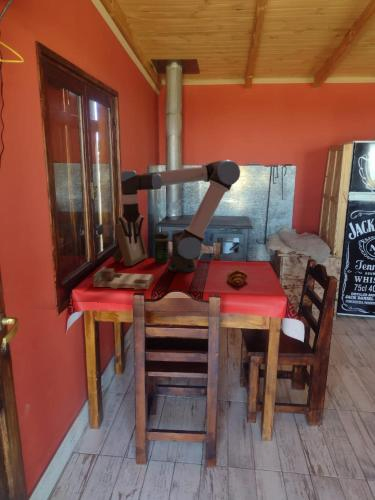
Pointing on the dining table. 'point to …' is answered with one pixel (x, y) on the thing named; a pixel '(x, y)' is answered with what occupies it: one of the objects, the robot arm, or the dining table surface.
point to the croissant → (236, 277)
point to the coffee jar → (162, 247)
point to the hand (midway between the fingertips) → (133, 249)
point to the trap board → (124, 280)
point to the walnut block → (107, 274)
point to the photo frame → (129, 246)
